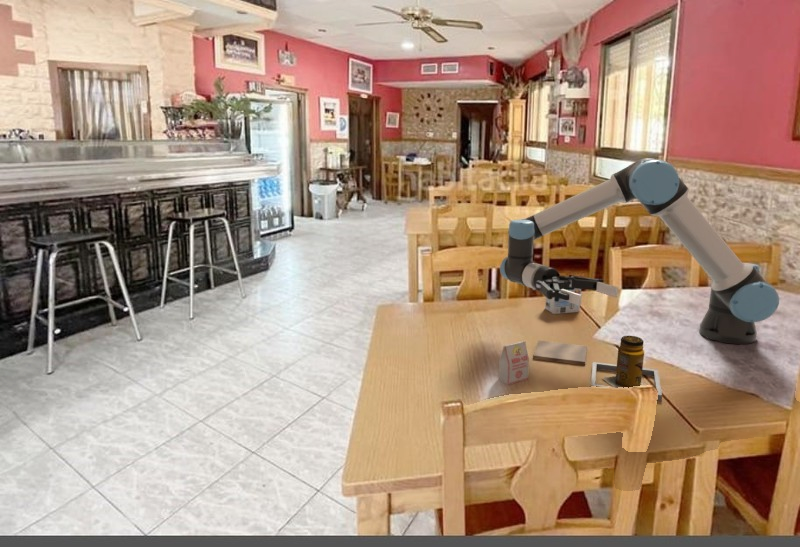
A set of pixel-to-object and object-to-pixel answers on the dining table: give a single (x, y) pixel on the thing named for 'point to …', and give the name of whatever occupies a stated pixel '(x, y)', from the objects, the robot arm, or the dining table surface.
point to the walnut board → (560, 352)
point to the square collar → (613, 368)
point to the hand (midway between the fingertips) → (599, 296)
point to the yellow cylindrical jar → (628, 363)
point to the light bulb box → (562, 304)
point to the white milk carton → (514, 363)
